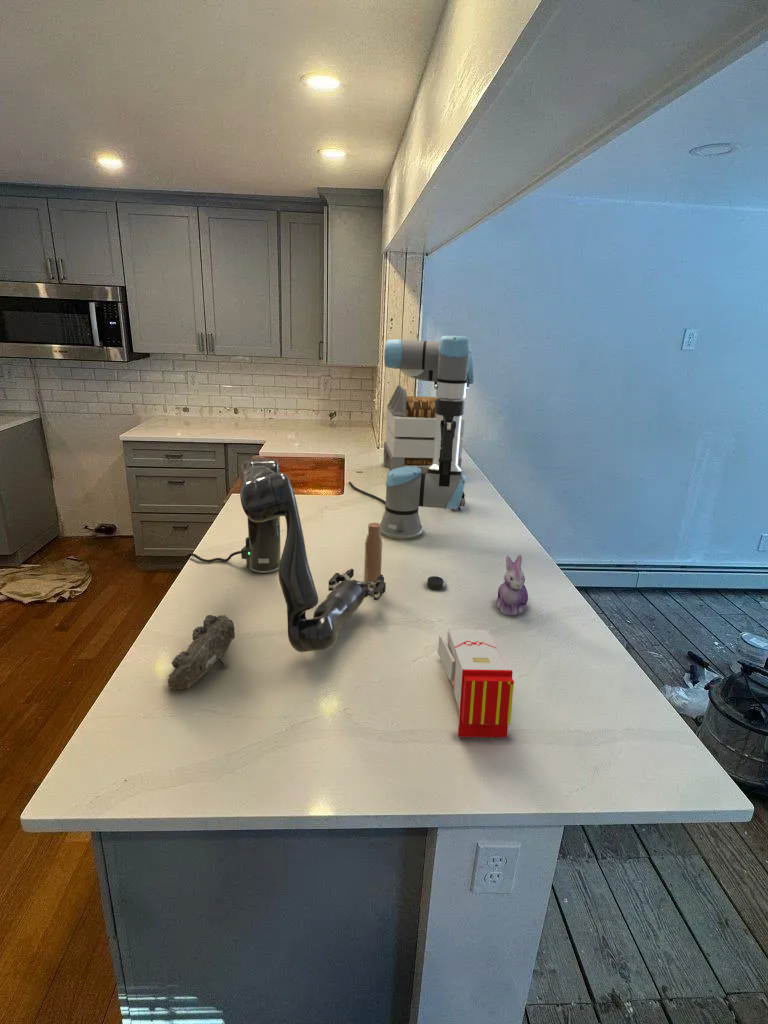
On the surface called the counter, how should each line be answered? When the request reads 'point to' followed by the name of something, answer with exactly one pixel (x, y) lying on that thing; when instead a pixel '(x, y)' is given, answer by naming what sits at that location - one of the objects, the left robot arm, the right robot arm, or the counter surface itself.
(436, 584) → the cap
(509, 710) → the toy
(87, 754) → the counter surface
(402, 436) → the grey slatted crate
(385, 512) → the right robot arm
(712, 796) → the counter surface
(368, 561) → the bottle
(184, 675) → the fossil
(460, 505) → the figurine character
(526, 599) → the figurine
